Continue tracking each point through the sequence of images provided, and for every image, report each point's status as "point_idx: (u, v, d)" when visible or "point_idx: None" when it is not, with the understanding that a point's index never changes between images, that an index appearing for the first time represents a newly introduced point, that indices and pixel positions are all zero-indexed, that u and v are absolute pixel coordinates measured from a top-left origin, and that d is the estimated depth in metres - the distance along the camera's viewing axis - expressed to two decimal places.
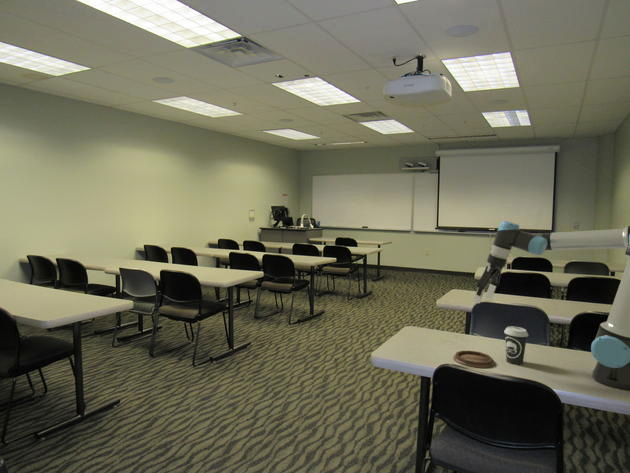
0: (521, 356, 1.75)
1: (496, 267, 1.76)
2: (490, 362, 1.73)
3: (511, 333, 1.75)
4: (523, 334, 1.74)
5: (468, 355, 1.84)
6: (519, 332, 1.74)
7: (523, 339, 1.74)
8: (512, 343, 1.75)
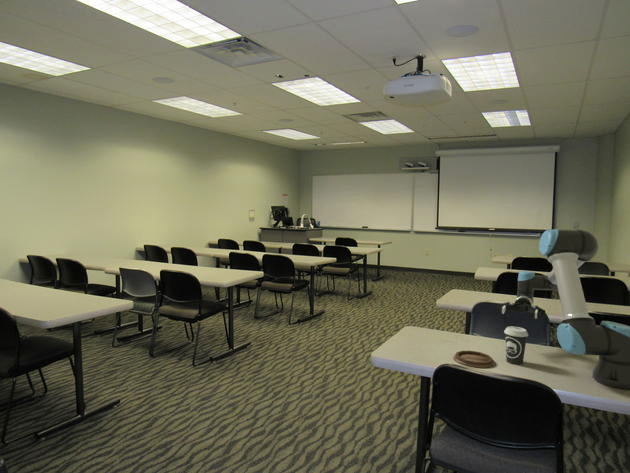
0: (521, 356, 1.75)
1: None
2: (490, 362, 1.73)
3: (511, 333, 1.75)
4: (523, 334, 1.74)
5: (468, 355, 1.84)
6: (519, 332, 1.74)
7: (523, 339, 1.74)
8: (512, 343, 1.75)
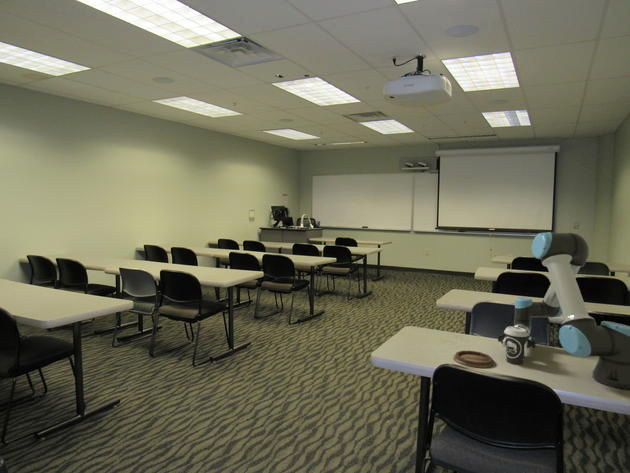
0: (521, 356, 1.75)
1: None
2: (490, 362, 1.73)
3: (511, 333, 1.75)
4: (523, 334, 1.74)
5: (468, 355, 1.84)
6: (519, 332, 1.74)
7: (523, 339, 1.74)
8: (512, 343, 1.75)
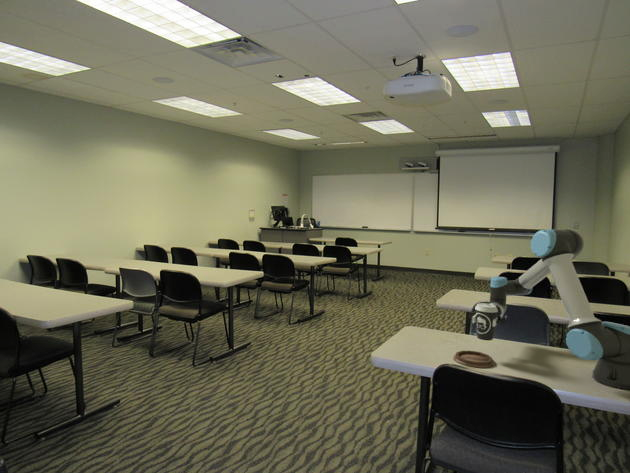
0: (490, 332, 1.77)
1: None
2: (490, 362, 1.73)
3: (481, 309, 1.77)
4: (492, 310, 1.75)
5: (468, 355, 1.84)
6: (488, 308, 1.75)
7: (493, 314, 1.76)
8: (482, 318, 1.77)
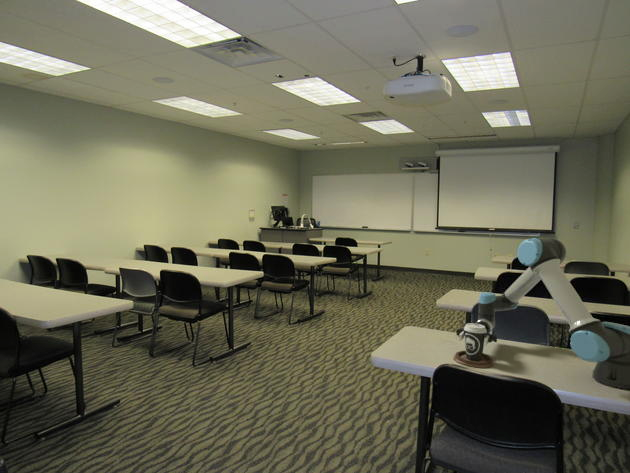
0: (479, 353, 1.76)
1: None
2: (490, 362, 1.73)
3: (469, 330, 1.76)
4: (481, 331, 1.74)
5: None
6: (477, 328, 1.75)
7: (482, 335, 1.75)
8: (471, 339, 1.76)
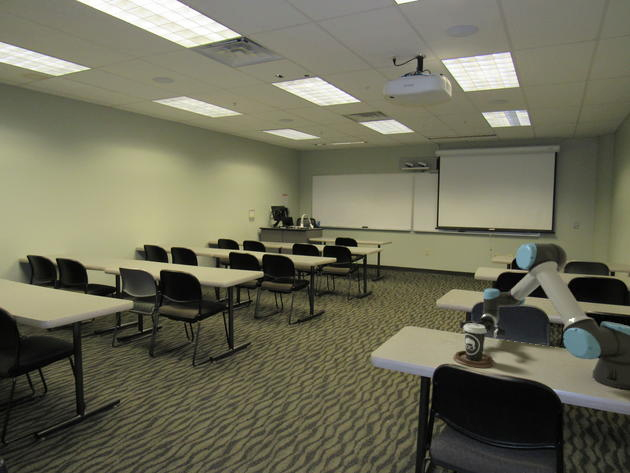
0: (479, 353, 1.76)
1: None
2: (490, 362, 1.73)
3: (469, 330, 1.76)
4: (481, 331, 1.74)
5: None
6: (477, 329, 1.75)
7: (482, 335, 1.75)
8: (471, 339, 1.76)
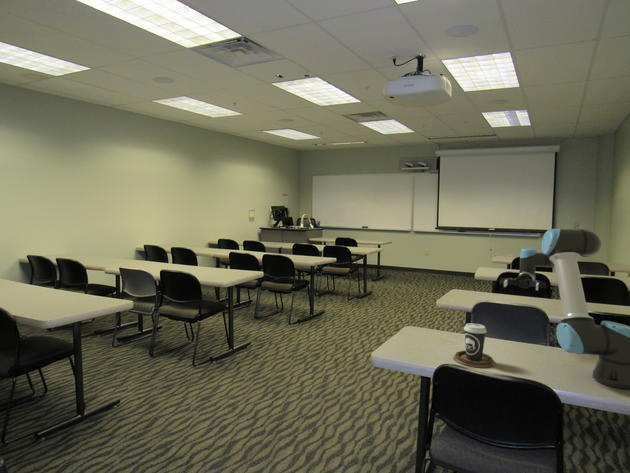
0: (479, 353, 1.76)
1: None
2: (490, 362, 1.73)
3: (469, 330, 1.76)
4: (481, 331, 1.74)
5: None
6: (477, 329, 1.75)
7: (482, 335, 1.75)
8: (471, 339, 1.76)
